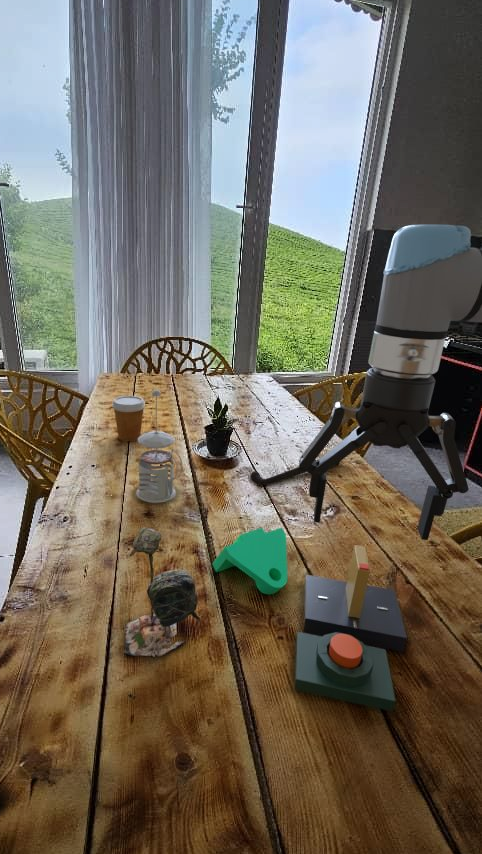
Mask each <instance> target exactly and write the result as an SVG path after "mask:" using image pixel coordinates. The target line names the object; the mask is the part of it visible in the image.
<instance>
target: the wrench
mask: <svg viewBox="0 0 482 854" xmlns="http://www.w3.org/2000/svg"><path fill="white" fill-rule="evenodd" d="M317 460H318V459H315V462H316V461H317ZM340 463H341V461H340V462H339V463H337V464H336V465H335V466H338V465H339V464H340ZM305 473H307V472H306V471H301V470H300V469H299V466H297V467H295V468H292V469H289V470H287V471H284V472H281V473H279V474H276V475H273V476H271V477H267V478H263V477H261V474H260V472H258V471H256V470H253V471H252V472H251V473H250V479H251V480H252V481H254V482H255V483H257V484H258V485H259V486H266V485H270V484H274V483H276V482H280V481H284V480H286V479H290V478H292V477H296V476H299V475H302V474H305Z"/></svg>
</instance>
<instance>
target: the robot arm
mask: <svg viewBox="0 0 482 854" xmlns="http://www.w3.org/2000/svg"><path fill="white" fill-rule="evenodd" d="M471 236H472V232H471V229H470V228H469V227H467V226H465V225H453V224H410V225H405V226H403V227H400V228H398V230H397V231H396V232H395V233H394V234H393V237H392V239H391V242H390V243H391V244H390V248H389V251H388V254H387V260H386V264H385V268H384V269H383V273H382V274H383V281H382V285H381V292H380V298H379V304H378V311H377V317H376V323H375V327H374V331H373V335H372V341H371V345H370V351H369V356H368V362H367V363H368V364H369V366H370V367H371V368H369V369H368V370H367V371H366V372H365V379H364V384H363V389H362V394H361V400H360V403H359V405H358V406H357V407H352V406H348V405H344V403H343V402H342V401H336V402H335V403H334V404H333V407H332V410H331V414H330V417H329V418H328V420H327V421H326V422H325V424H324V425H323V426H322V428H321V429H320V430H319V432H317V434H316V435H315V437H314V438H313V440H312V441H311V442H310V444H309V445H308V446H307V448H306V449H305V450H304V452H303V453H302V454H301V455H300V457H299V460H298V467H299V469H300V470H301V471H306V472H305V473H309V475H310V479H309V485H308V486H309V487H308V495H309V498H314V499H315V503H314V509H313V523H318V524H320V522H321V516H322V510H323V504H324V499H325V493H326V485H327V472H329V471H330V470H331V469H333V468H334V467H335V466H337V465H336V464H337V463H339V462H340V463H341V461H343V460H344V459H345V458H347V457H348V456H349V455H351V454H352V453H354V452H355V451H356V450H357V449H360V448H362V447H364V446H365V445H367V444H368V443H370V444H372V446H375V447H386V446H387V447H390V448H393V449H400V450H401V448H403V447H406V446H407V445H408V447H409V449H410V450H411V452H412V453H413V454H414V456H415V457H416V459H417V461H419V463H420V464H421V466H422V468H423V469H424V470H425V472H426V473H427V475H428V477H429V478H430V479H431V481H432V482H433V484H434V485H428V486H427V490H426V493H425V497H424V501H423V505H422V509H421V513H420V516H419V520H418V524H417V528H416V529H417V531H418V534H419V536H420V539H421V540H422V541H428V540H429V537H430V535H431V530H432V527H433V522H434V520H435V517H442V516H443V515H444V513H445V511H446V510H445V509H446V506H447V502H448V499H451V498H453V495H454V494H455V493H460V494H466V493H468V492H469V484H468V481H467V478H466V475H465V474H466V473H465V470H464V467H463V464H462V461H461V458H460V454H459V450H458V447H457V443H456V440H455V433H456V432H455V431H456V425H457V423H456V420H454V418H453V417H452V416H451V415H450V413H448V412H442V413H441V414H440V415H429V409H430V405H431V400H432V397H433V393H434V390H435V389H434V388H435V384H436V379H435V377H434V376H433V375H434V374H436V373H437V372H438V371H439V368H440V363H441V359H442V354H443V349H444V345H445V341H446V338H447V336H448V332H449V331H448V330H449V328H450V325H451V322H460V323H463V322H471V323H482V248H477V247H471V246H472V243H471ZM353 418H354V419H355V421H356V424H357V425H358V426H357V427H356V428H354V429H353V430H351V432H350V434H348V435H347V436H346V437H345V438H343V439H342V440H341V441H340V442H338V443H337V444H336V445H335V446H333V447H332V448H331V449H330V450H328V451H327V452H326V453H324V454H323V455H322V456H321V457H319V455H320V454H321V453H322V451H324V449H325V448H326V447H327V445H328V444H329V442H330V441H331V440H332V439H333V437H334V436H335V435H336V434H337V432H338V430H340V427H341V426H342V425H343V424H347V423H348V422H349V420H350V419H353ZM429 427H431V428H432V431H433V432H434V433H435V434H436V435H438V438H439V442H440V445H441V446H440V447H441V449H442V452H443V455H444V459H445V462H446V465H447V469H448V471H449V476H450V478H446V479H445V477H444V476H443V475H442V473H441V471H440V470H439V468H438V467H437V464H435V462H434V460H433V459H432V458H431V456H430V455H429V453H428V452H427V450H426V449H425V447H424V446H423V444H422V443H421V441H420V440H419V438H418V436H420V435H421V434H422V433H423V432H425V431H426V430H427V429H428V428H429ZM318 457H319V458H318ZM317 458H318V459H317ZM316 460H317V461H316ZM315 461H316V462H315ZM340 463H339V464H340Z"/></svg>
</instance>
